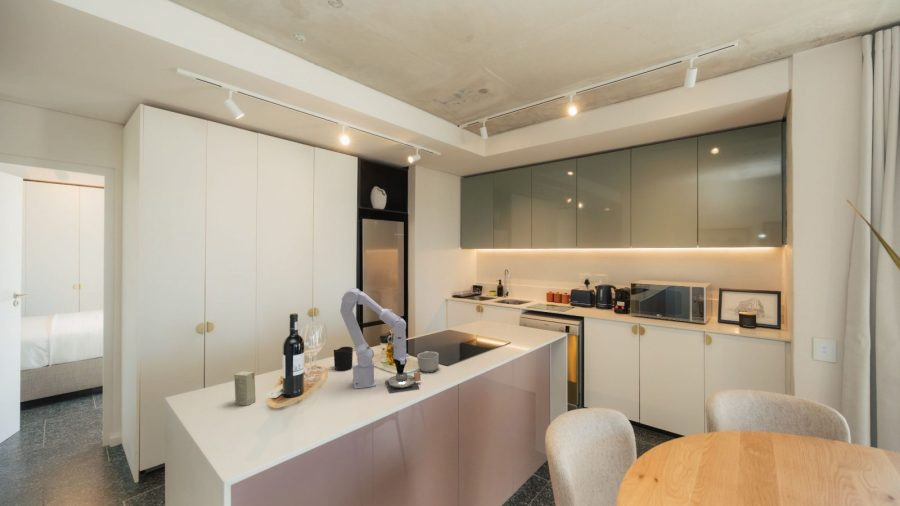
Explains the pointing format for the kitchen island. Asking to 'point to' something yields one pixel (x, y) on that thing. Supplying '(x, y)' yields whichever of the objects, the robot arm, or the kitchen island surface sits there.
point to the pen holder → (343, 358)
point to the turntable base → (394, 389)
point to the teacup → (428, 361)
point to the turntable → (408, 382)
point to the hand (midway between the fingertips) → (400, 375)
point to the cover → (401, 376)
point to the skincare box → (244, 388)
